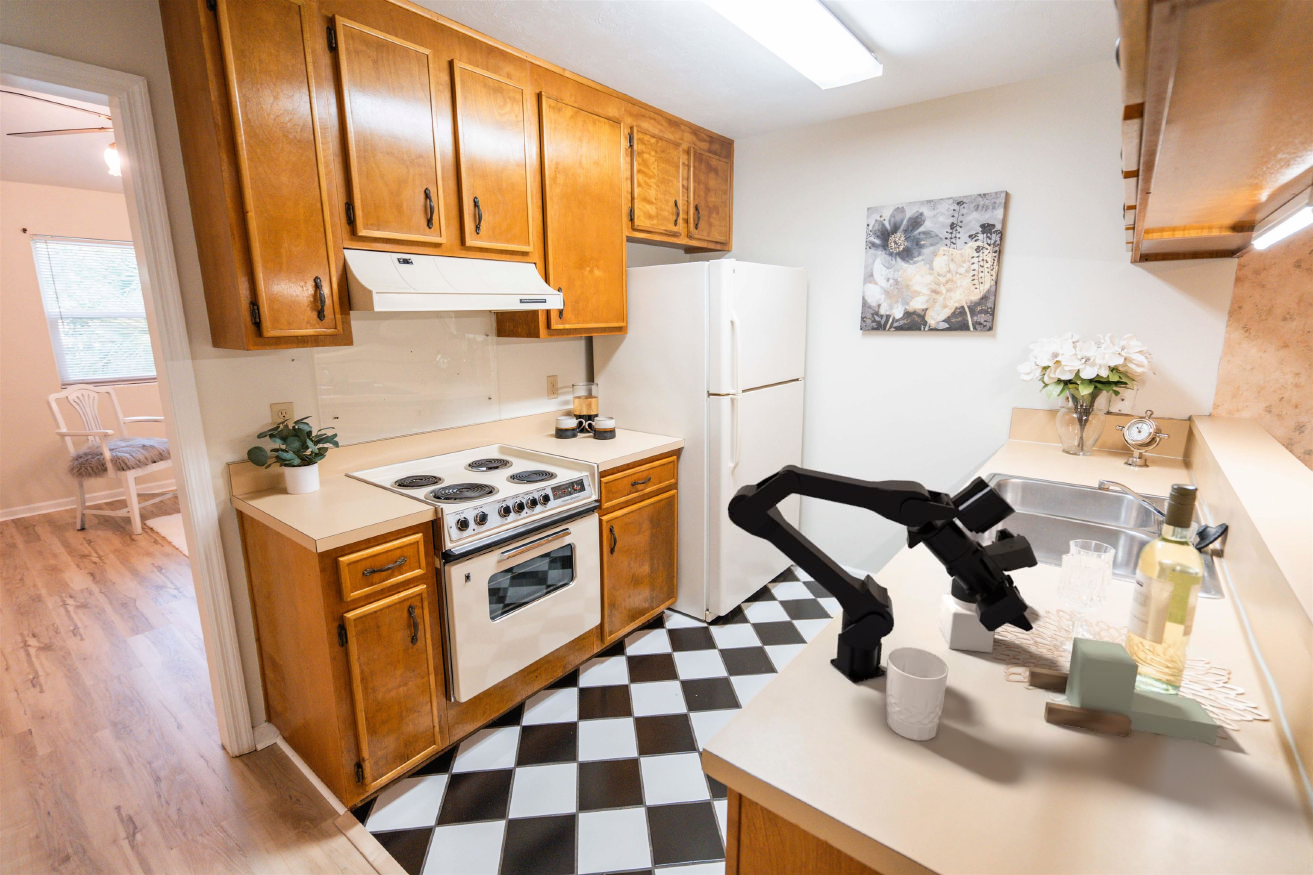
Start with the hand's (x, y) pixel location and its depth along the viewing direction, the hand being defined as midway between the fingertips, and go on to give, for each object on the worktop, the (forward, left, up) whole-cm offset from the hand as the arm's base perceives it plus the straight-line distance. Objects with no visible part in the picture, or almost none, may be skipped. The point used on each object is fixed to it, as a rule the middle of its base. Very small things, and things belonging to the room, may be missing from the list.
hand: (1030, 628), depth 89 cm
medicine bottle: (+6, +15, -12) cm, 20 cm away
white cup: (-20, +1, -12) cm, 24 cm away
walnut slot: (+5, -5, -12) cm, 14 cm away
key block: (+11, -9, -12) cm, 19 cm away
